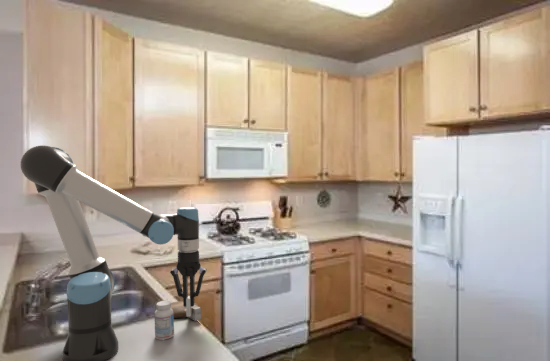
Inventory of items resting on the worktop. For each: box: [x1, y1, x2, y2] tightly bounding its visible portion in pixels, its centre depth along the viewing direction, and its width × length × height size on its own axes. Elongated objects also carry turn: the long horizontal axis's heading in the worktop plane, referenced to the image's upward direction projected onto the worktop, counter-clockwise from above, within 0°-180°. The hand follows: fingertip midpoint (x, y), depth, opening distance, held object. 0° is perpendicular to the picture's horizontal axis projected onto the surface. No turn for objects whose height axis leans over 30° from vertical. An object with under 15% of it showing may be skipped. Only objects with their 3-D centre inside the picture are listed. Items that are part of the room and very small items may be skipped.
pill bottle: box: [153, 300, 175, 341], centre depth 126 cm, size 6×6×11 cm
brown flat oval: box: [170, 300, 202, 321], centre depth 145 cm, size 20×14×4 cm
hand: (189, 315), depth 137 cm, fingers closed
